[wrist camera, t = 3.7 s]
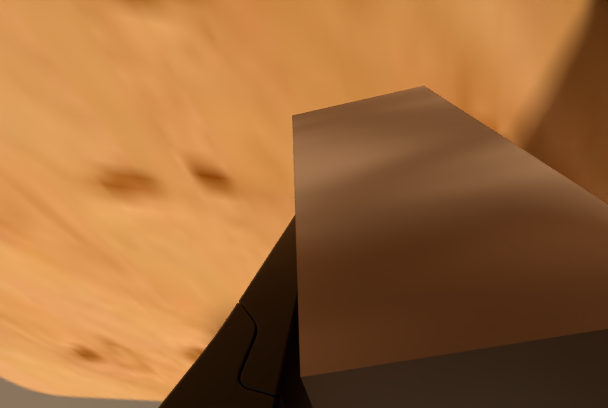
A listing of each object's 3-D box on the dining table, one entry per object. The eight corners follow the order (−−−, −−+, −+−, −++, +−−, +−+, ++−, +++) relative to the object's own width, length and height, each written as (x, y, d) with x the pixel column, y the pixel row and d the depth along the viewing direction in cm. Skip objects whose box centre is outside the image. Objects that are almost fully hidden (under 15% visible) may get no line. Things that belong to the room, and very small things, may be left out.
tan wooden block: (424, 85, 8) (762, 304, 2) (424, 247, 11) (574, 519, 5) (292, 115, 8) (300, 376, 3) (327, 265, 12) (368, 542, 6)
